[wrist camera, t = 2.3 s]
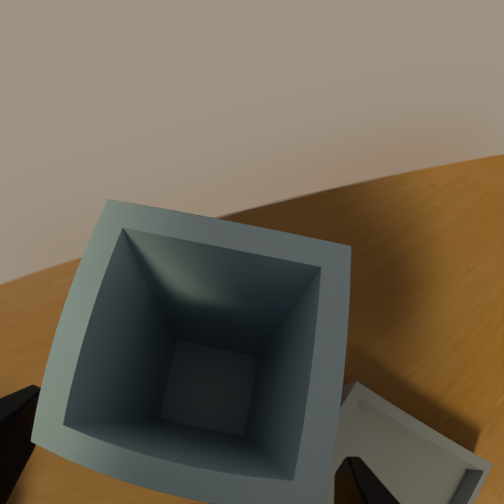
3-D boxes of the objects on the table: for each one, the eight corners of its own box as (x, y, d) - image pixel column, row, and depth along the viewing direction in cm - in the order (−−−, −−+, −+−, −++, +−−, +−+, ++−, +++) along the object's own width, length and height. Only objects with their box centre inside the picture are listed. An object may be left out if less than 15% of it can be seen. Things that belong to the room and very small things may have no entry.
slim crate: (253, 447, 16) (322, 512, 5) (147, 425, 16) (30, 441, 5) (269, 348, 18) (351, 246, 7) (169, 328, 18) (108, 199, 7)
